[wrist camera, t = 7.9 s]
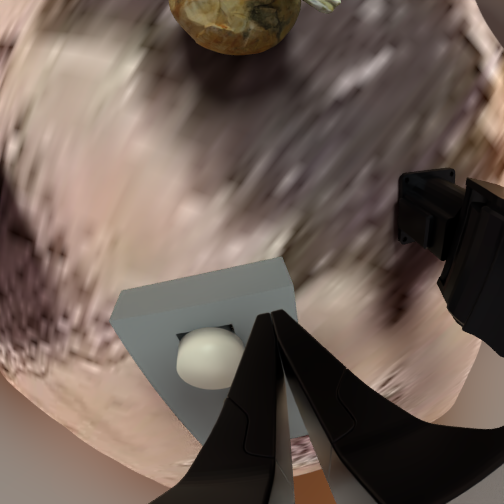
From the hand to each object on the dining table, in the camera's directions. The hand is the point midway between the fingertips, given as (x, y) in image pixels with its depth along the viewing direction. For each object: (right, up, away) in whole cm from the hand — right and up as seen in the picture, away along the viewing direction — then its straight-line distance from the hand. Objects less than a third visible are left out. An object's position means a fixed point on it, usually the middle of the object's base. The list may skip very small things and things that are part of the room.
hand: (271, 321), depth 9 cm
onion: (-2, +18, +5) cm, 19 cm away
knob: (-4, -4, +16) cm, 17 cm away
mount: (-3, -11, +20) cm, 23 cm away
